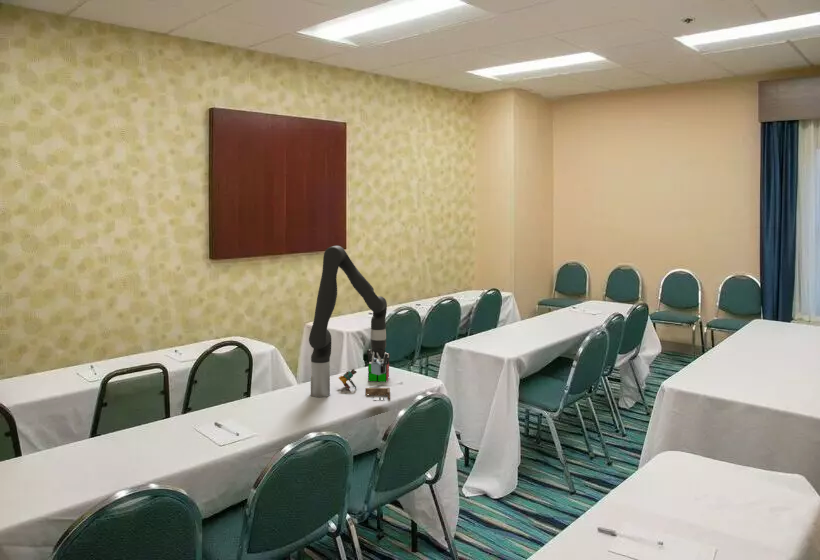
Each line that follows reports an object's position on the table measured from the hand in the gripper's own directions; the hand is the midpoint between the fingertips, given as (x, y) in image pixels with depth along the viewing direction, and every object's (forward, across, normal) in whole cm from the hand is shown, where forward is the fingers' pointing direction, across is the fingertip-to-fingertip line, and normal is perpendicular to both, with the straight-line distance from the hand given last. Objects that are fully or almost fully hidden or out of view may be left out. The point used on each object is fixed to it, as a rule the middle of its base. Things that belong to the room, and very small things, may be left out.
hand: (378, 372), depth 311 cm
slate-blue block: (0, 0, 0) cm, 0 cm away
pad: (+14, -1, 0) cm, 14 cm away
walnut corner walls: (+14, -3, +3) cm, 14 cm away
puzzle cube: (+14, -24, +25) cm, 37 cm away
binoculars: (+14, -24, +1) cm, 28 cm away
